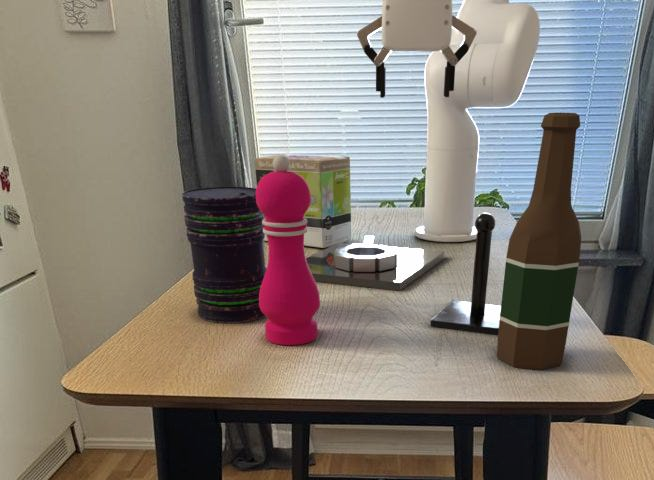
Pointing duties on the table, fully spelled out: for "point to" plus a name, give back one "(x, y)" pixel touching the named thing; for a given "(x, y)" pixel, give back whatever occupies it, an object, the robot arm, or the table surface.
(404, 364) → the table surface
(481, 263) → the black peg stand
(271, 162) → the tea box
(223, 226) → the storage jar
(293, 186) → the pepper mill
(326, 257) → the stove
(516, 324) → the beer bottle
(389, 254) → the octagonal ring with handle
